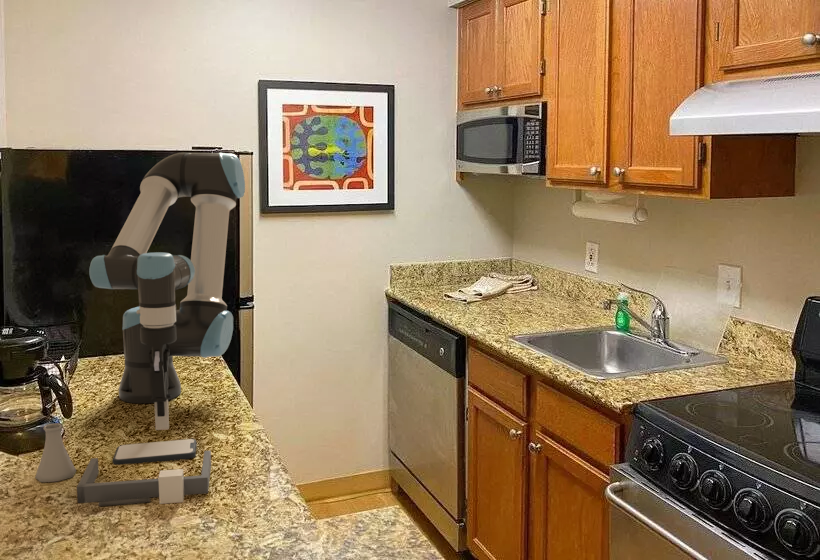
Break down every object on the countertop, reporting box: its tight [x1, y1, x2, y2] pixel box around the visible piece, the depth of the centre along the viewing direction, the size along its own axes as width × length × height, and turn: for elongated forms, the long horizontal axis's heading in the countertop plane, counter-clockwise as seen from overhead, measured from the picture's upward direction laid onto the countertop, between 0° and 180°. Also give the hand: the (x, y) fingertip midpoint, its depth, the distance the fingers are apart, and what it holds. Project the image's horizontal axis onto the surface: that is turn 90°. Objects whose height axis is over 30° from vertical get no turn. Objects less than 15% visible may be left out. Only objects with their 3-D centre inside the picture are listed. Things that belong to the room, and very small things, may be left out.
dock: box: [76, 450, 212, 507], centre depth 143 cm, size 16×22×5 cm
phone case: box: [112, 438, 197, 466], centre depth 159 cm, size 9×2×16 cm
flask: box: [34, 422, 77, 483], centre depth 147 cm, size 7×7×10 cm
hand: (162, 428), depth 170 cm, fingers closed
